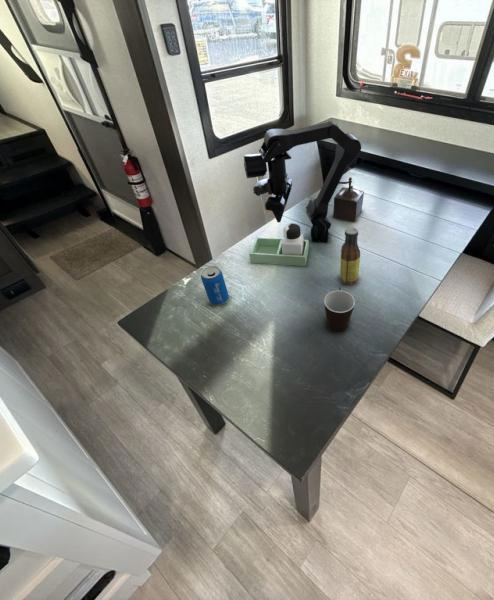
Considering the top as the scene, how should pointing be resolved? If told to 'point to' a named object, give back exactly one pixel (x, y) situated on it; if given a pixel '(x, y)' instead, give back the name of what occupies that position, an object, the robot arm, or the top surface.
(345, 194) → the coffee grinder
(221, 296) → the beverage can
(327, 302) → the coffee mug
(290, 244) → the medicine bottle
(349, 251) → the sauce bottle
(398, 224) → the top surface
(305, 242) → the green divided tray
